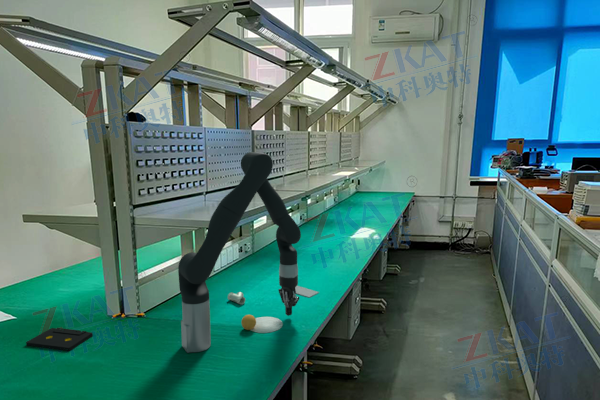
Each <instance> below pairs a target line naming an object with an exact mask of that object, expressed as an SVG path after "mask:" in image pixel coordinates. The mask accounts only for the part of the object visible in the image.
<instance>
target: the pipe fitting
mask: <svg viewBox="0 0 600 400" xmlns="http://www.w3.org/2000/svg"><path fill="white" fill-rule="evenodd" d="M227 300H229V301H231V302H234V303H236V304H238V305H240V306H241V305H244V304H245V302H246V298H245V297H244V293H243V292H241V291H239V292H236V293H234V292H229V293H228V294H227Z"/></svg>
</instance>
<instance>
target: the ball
mask: <svg viewBox="0 0 600 400" xmlns="http://www.w3.org/2000/svg"><path fill="white" fill-rule="evenodd" d="M255 318H256V317H255V316H254V315H252V314H245V315H244V316H243V317H242V319H241V322H240V323H241V326H242V328H243V329H244V330H247V331H251V329H253V328H254V327H255V325H256V319H255Z"/></svg>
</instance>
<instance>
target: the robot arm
mask: <svg viewBox="0 0 600 400" xmlns="http://www.w3.org/2000/svg"><path fill="white" fill-rule="evenodd" d="M241 157H242V158H241V160H240V168H241V170H242V172H243V174H244V176H243V178H242V179H241V181H240V182H239V183H238V184H237V185H236V187H234V188H233V189H232V190H231V191H230V192H228V193H227V194H226V195H225V196H224V197H223V198H222V200H220V202H219V204H218V205H217V207H216V208H215V210H214V212H213V214H212V215H211V216H210V220H209V223H208V227H207V232H206V235H205V237H204V241H203V242H202V245H200V247H199V249H198V251H197V252H187V253H186V254H184V255H182V257H181V258H180V259H179V263H178V267H177V268H178V269H177V271H178V284H179V285H178V286H179V291H180V296H181V306H182V307H181V308H182V309H181V310H182V319H181V320H180V326H181V328H180V329H181V332H180V333H181V347H182V348H183V349H184V350H185V352H186V353H187V354H188V353H199V352H203V351H206V350H208V349H209V348H210V347H211V345H212V344H211V342H212V340H211V308H210V304H211V303H210V290H209V288H208V285H207V283H206V281H207V280H208V278H209V277H210V276H211V274H212V272H213V270H214V268H215V266H216V264H217V262H218V259H219V256H220V255H221V253H222V252H223V249H224V247H225V246H226V244H227V243H228V241H229V239H230V238H231V236H232V235H233V233H234V231H235V230H236V228H237V226H238V224H239V222H240V221H241V219H242V218H243V216H244V214H245V212H246V210H247V208H249V206H250V204H251V203H252V200H253V199H254V197H255V196H256V194H258V195H259V198H260V199H261V201H262V203H263V205H264V207H265V208H266V211H267V213H268V215H269V217H270V219H271V221H272V223H273V224H274V225H276V226H277V228H276V232H275V238H276V244H277V248H278V252H279V269H278V275H279V277H278V282H279V286H280V287H281V288H279V289H278V293H279V296H280V300H281V303H282V304H284V307H285V309H284V310H285V315H286V316H288V317H289V316H291V315H292V314H293V307H295V306H296V305H297V304H298V302H299V300H300V296H297V294H296V290H295V287H296V286H299V266H298V251H297V250H296V248H295V247H294V246H293V245H295V244H297V243H299V241H300V240H301V238H302V236H301V235H302V233H301V229H300V227H299V226H298V224H297V223H296V221H295V220H294V219H293V217H292V216H291V214H290V213H289V211H288V208H287V207H286V205H285V203H284V200H283V199H282V197H281V196H280V195H279V193H278V192H277V190H275V188H274V187H273V186H272V184H271V183H270V181H269V180H268V178H269V176H270V175H271V172H272V170H273V167H274V164H273V159H272V157H271V156H270V155H269V154H267V153H263V152H258V151H256V152H255V151H251V152H250V151H249V152H247V153H245V154H244V155H243V156H241Z"/></svg>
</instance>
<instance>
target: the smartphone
mask: <svg viewBox="0 0 600 400" xmlns="http://www.w3.org/2000/svg"><path fill="white" fill-rule="evenodd" d="M295 290H296V295H298V296H302V297H305V298H312V297H314V296H317V295H318V294H319V293H320V291H316V290H313V289H310V288H307V287H304V286H300V285H297V286H296V287H295Z"/></svg>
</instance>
